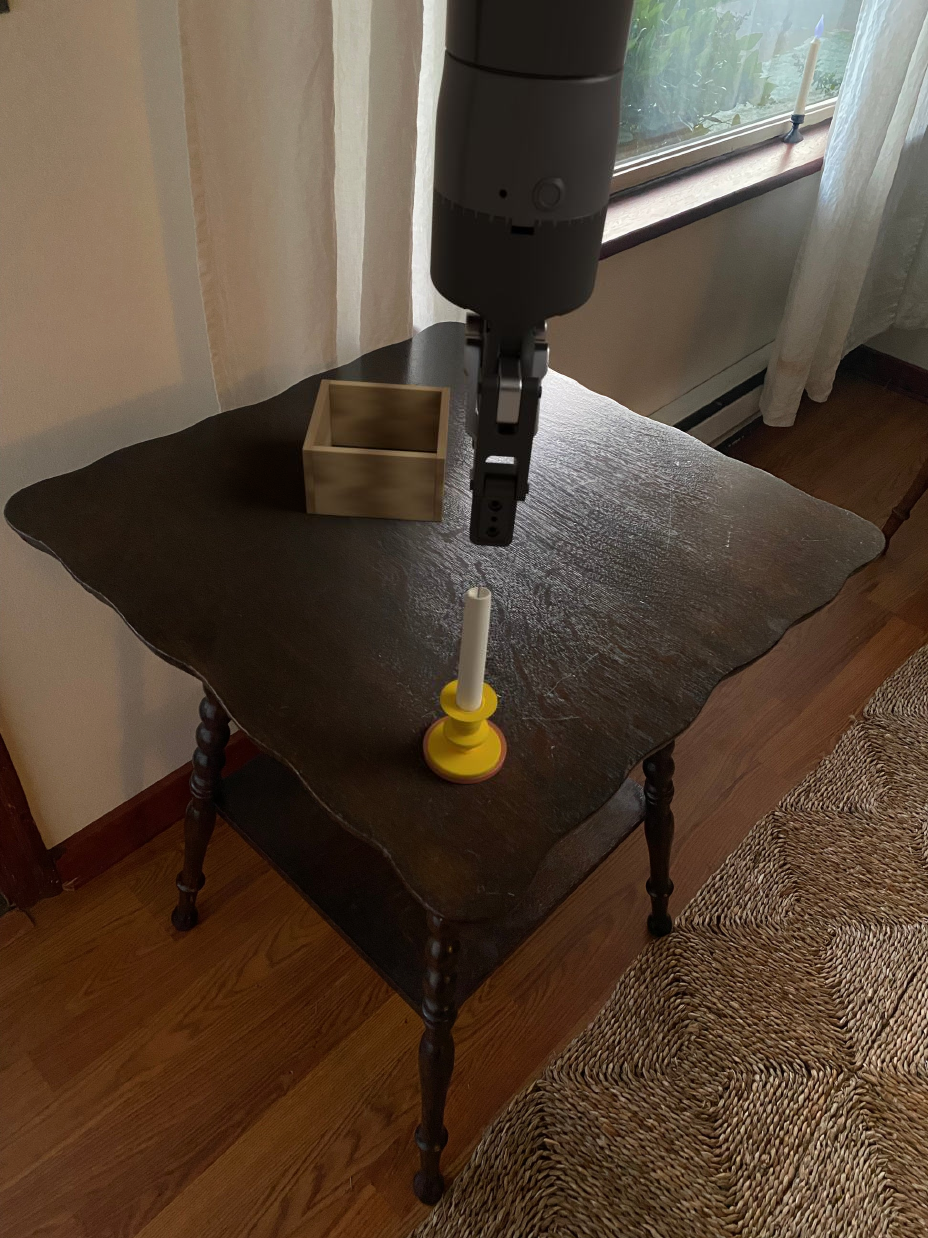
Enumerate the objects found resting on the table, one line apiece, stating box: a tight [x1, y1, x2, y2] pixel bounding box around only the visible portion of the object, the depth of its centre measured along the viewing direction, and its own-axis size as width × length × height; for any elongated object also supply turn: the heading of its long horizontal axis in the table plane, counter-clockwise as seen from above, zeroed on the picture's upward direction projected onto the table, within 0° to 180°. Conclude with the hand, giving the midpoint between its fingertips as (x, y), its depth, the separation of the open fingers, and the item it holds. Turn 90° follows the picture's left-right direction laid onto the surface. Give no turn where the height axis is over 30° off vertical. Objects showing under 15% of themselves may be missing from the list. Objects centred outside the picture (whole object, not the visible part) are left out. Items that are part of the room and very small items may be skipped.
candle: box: [428, 585, 501, 779], centre depth 58 cm, size 5×5×16 cm
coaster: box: [422, 715, 508, 785], centre depth 64 cm, size 6×6×1 cm
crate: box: [301, 379, 451, 523], centre depth 86 cm, size 13×13×7 cm
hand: (490, 493), depth 49 cm, fingers open, 8 cm apart
